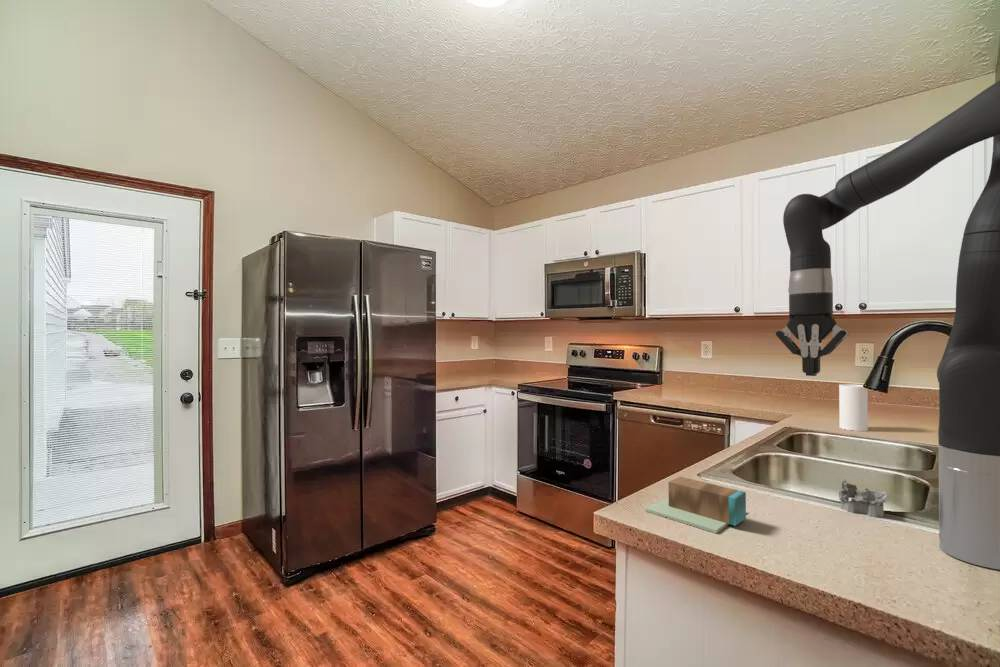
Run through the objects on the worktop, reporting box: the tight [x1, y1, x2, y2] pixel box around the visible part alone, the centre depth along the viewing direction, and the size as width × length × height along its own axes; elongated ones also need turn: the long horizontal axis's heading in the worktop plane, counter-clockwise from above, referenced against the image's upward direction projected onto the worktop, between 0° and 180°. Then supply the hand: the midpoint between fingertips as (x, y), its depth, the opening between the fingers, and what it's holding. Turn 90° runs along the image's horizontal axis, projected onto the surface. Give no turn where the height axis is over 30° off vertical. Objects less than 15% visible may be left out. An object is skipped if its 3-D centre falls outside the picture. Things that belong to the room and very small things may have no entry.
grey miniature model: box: [838, 479, 888, 518], centre depth 93 cm, size 11×8×4 cm
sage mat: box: [645, 496, 730, 534], centre depth 91 cm, size 14×14×1 cm
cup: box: [838, 383, 869, 432], centre depth 166 cm, size 8×8×16 cm
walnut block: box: [667, 476, 747, 527], centre depth 89 cm, size 5×5×13 cm
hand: (811, 375), depth 94 cm, fingers closed
